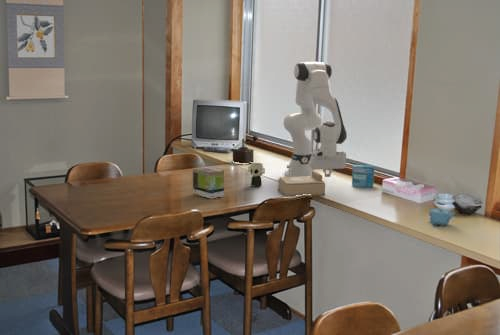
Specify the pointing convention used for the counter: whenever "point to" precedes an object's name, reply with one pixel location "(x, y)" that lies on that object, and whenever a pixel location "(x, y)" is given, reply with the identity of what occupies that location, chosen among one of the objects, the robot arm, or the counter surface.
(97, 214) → the counter surface
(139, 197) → the counter surface
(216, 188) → the tea box
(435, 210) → the teapot
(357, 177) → the data package
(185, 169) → the counter surface
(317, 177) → the lid
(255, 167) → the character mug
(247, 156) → the pepper mill
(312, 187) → the tray
